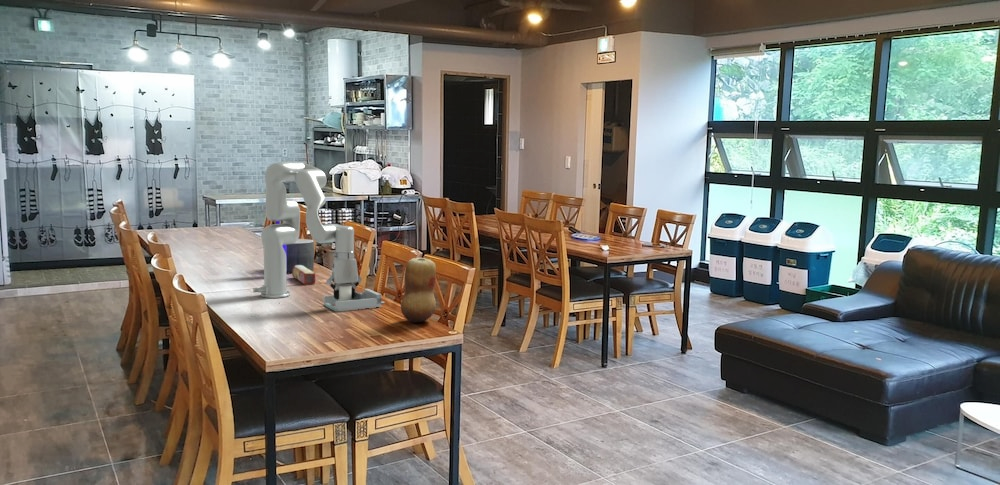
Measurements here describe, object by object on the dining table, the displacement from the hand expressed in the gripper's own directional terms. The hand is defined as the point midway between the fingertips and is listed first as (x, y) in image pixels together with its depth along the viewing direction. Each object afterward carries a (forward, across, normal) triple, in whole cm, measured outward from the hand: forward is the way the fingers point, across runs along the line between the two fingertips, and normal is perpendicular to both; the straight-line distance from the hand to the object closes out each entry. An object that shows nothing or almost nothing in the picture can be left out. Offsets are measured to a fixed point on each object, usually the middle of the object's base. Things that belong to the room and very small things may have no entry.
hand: (344, 298), depth 320 cm
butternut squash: (+4, +16, -37) cm, 41 cm away
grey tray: (+4, +4, 0) cm, 5 cm away
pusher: (+4, +11, 0) cm, 12 cm away
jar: (+2, 0, 0) cm, 2 cm away
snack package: (+5, +4, +63) cm, 64 cm away
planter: (+5, +10, +94) cm, 95 cm away
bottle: (+4, -4, +80) cm, 80 cm away
